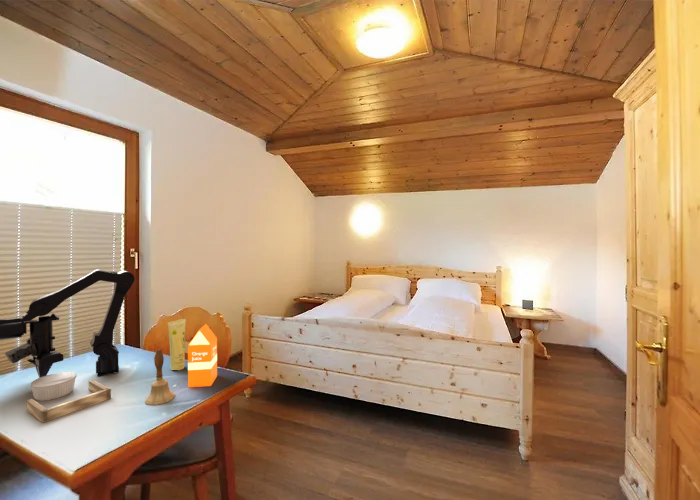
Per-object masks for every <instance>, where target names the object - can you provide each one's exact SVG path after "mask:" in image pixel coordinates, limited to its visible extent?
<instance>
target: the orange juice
mask: <svg viewBox="0 0 700 500" xmlns="http://www.w3.org/2000/svg"><path fill="white" fill-rule="evenodd" d="M217 377H218V337H217V335H216V334H214V332H213V331H212V329H211V328H210V327H209V325H208V324H207V323H205V324H204V325H202V327H200V328H199V329H198V331H197V332H196V334H195V335H194V336H193V338H192V339H191V340H190V342H189V343H188V345H187V380H188V381H187V382H188V383H187V387H188V388H196V387H197V388H198V387H211V386H212V385H213V383H214V381H215V380H216V378H217Z"/></svg>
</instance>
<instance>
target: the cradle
mask: <svg viewBox="0 0 700 500" xmlns="http://www.w3.org/2000/svg"><path fill="white" fill-rule="evenodd" d="M88 391H90V392H92V393H90V394H86V395H84V396H81V397H78V398H75V399H72V400H69V401H66V402H64V403H60V404H57V405H54V406H52V407H48V408H46V407H45V406H43V405H42V404H40V403H39V402H37V400H36V399H34V398H30V399H27V400H26V411H27V412H28V411H29V412H28V413H29V414H31V415H33V416H34V417H35V418H36V419H38V421H40V422H41V423H46V422H49V421H52V420H54V419H58V418H60V417H62V416H65V415H69V414H70V413H74V412H76V411H78V410H81V409H85V408H87V407H90V406H93V405H96V404H99V403H100V402H103V401H106V400H110V399H111V398H112V389H111V388H110V387H108V386H106V385H104V384H102V383H100V382H98V381H96V380H94V379H92V380H89V381H88Z"/></svg>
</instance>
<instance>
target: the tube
mask: <svg viewBox="0 0 700 500" xmlns="http://www.w3.org/2000/svg"><path fill="white" fill-rule="evenodd" d="M186 324H187V319H186V318H181V319H177V320H173V321H168V322H167V329H168V339H169V340H168V341H169V357H170V363H169V365H170V370H171V371H172V370H178V371H181V370H184V369H185V366H186V364H185V362H186V361H185V359H186V358H185V355H186V354H185V352H186V349H185V348H186Z"/></svg>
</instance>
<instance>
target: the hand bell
mask: <svg viewBox="0 0 700 500" xmlns="http://www.w3.org/2000/svg"><path fill="white" fill-rule="evenodd" d="M164 358H165V357H164V354H163V351H162V349H160V348H158V349H156V350H155V354H154V366H155V370H156V374H155V375H156V380H155V381H153V382H152V384H151V385H150V386H151V387H150V388H151V389H150V392H149V395H148V396H147V397H146V398H145V400H144V404H145V405H147V406H158V405H163V404H165V403H167V402H170V401H172V400H173V399H174V398H175V397H176V395H175V393H174V392H173V391H172V390H171V389H170V387H169V382H168V380H167V379H164V377H163V376H164V375H163V365H164V362H165V360H164Z"/></svg>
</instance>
